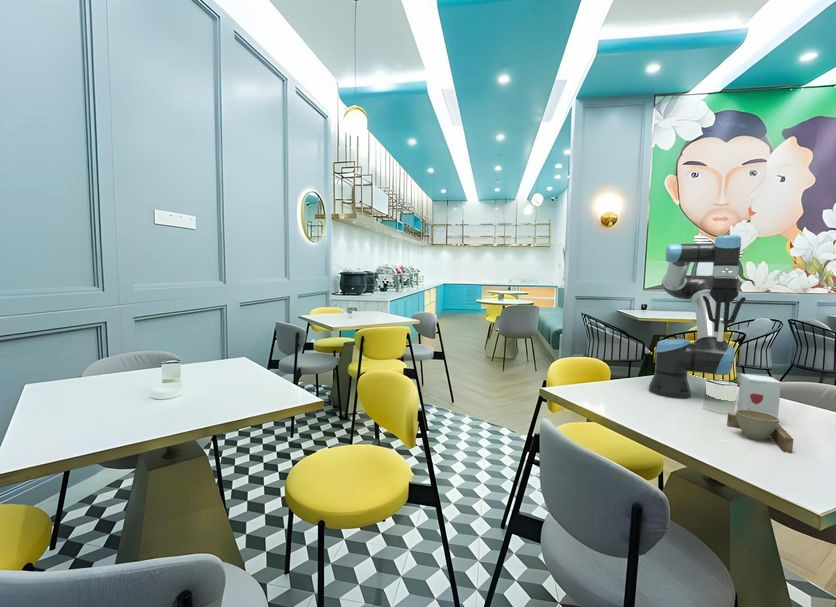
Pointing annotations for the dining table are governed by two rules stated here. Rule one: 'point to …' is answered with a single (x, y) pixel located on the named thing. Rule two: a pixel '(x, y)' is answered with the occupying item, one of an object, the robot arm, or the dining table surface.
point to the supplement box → (759, 394)
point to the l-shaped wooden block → (778, 435)
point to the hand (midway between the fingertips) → (719, 340)
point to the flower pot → (756, 424)
